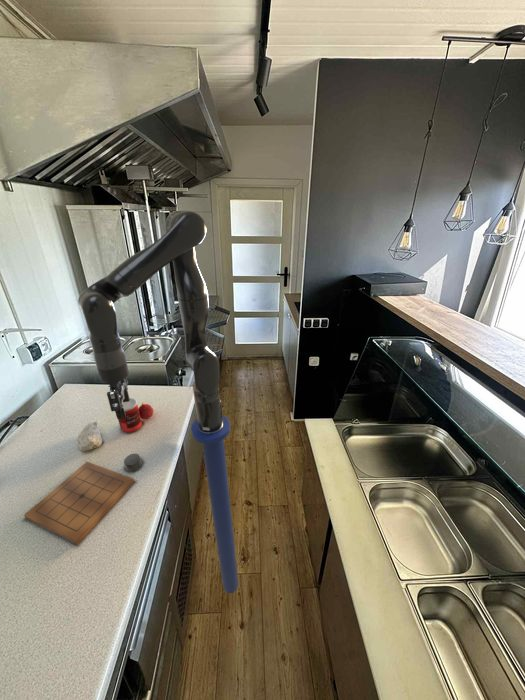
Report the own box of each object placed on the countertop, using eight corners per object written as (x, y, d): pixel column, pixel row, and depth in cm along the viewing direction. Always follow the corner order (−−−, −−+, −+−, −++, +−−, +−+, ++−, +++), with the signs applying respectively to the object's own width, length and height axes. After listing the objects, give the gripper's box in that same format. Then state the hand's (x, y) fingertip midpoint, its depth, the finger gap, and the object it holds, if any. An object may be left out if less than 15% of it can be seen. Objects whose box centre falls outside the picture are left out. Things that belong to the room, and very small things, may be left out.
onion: (157, 415, 119) (153, 399, 115) (150, 424, 114) (146, 408, 110) (144, 413, 120) (140, 398, 116) (136, 422, 114) (132, 406, 111)
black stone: (133, 458, 98) (131, 451, 97) (145, 462, 97) (143, 455, 95) (122, 469, 94) (120, 462, 93) (134, 473, 92) (132, 467, 91)
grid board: (88, 464, 96) (86, 461, 95) (134, 482, 90) (133, 478, 89) (25, 518, 79) (23, 515, 79) (77, 545, 73) (75, 541, 72)
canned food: (127, 419, 117) (121, 397, 112) (146, 420, 116) (140, 398, 111) (117, 432, 110) (109, 409, 105) (136, 433, 109) (130, 410, 104)
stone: (80, 459, 103) (73, 449, 95) (78, 428, 109) (71, 416, 101) (104, 452, 106) (98, 442, 98) (101, 422, 112) (95, 410, 104)
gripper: (121, 372, 74) (134, 422, 81) (129, 349, 86) (139, 394, 93) (89, 376, 72) (105, 427, 79) (102, 353, 85) (114, 398, 92)
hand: (124, 409), depth 86 cm, fingers open, 8 cm apart
